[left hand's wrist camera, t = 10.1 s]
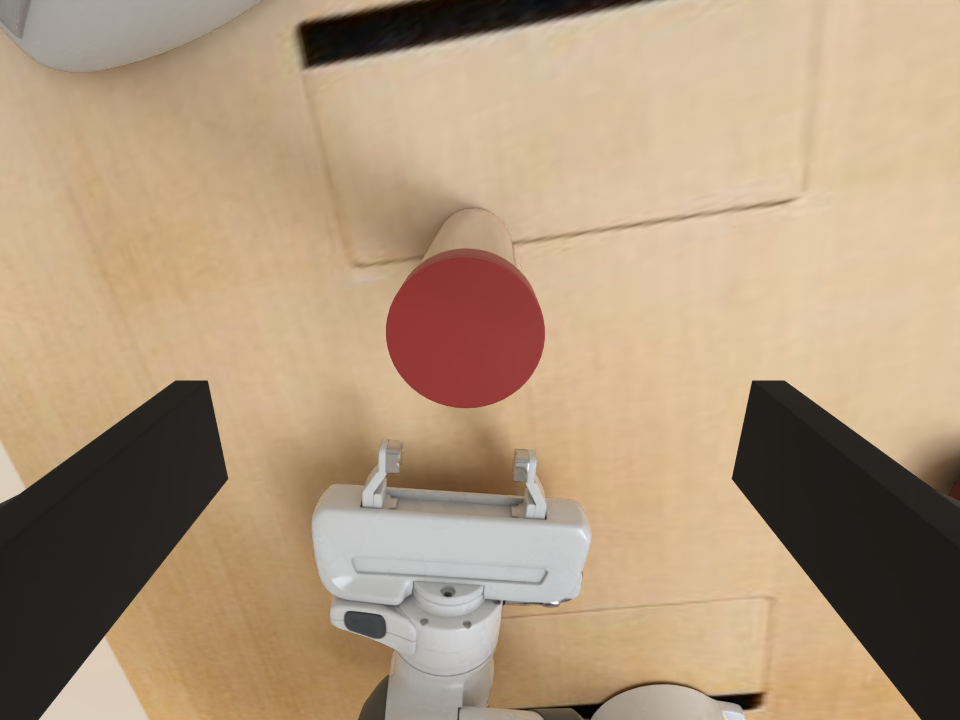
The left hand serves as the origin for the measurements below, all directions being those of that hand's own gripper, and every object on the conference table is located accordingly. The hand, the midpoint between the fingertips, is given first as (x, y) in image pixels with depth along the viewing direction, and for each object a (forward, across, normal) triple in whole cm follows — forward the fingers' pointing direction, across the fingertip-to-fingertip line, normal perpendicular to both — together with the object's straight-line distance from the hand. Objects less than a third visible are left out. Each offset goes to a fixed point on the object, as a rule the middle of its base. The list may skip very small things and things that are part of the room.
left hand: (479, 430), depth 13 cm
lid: (+7, 0, 0) cm, 7 cm away
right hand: (+20, +2, +13) cm, 24 cm away
